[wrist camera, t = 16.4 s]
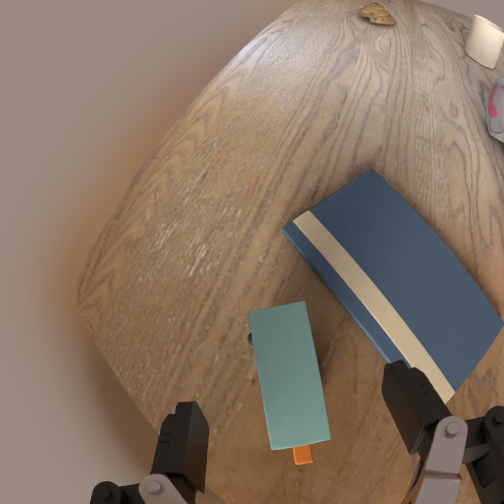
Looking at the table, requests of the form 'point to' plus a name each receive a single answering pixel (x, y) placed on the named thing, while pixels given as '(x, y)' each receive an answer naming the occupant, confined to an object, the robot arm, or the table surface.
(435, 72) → the table surface
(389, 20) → the seashell
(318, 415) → the sage wedge block
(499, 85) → the pencil case
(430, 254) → the striped blue notebook
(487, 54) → the mug
